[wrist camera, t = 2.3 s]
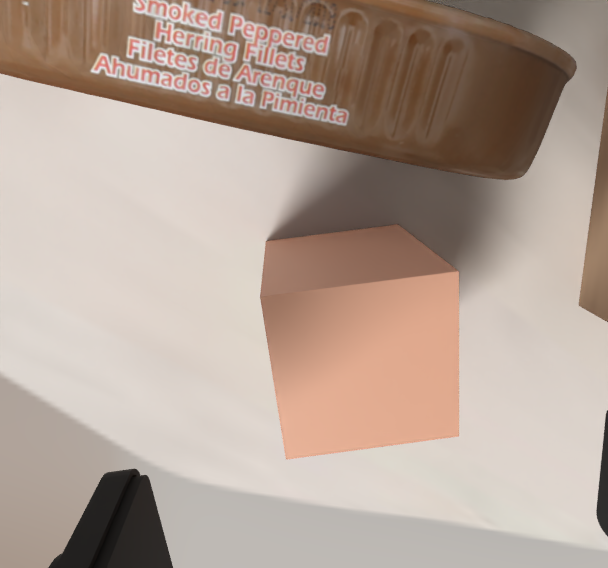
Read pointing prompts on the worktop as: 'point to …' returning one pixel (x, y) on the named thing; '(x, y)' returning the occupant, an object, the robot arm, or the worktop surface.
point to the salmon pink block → (361, 340)
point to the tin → (308, 72)
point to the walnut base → (598, 237)
